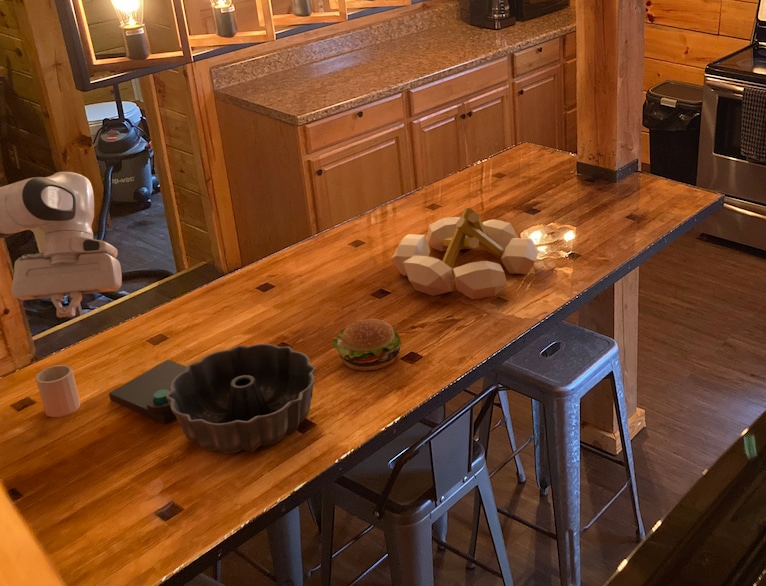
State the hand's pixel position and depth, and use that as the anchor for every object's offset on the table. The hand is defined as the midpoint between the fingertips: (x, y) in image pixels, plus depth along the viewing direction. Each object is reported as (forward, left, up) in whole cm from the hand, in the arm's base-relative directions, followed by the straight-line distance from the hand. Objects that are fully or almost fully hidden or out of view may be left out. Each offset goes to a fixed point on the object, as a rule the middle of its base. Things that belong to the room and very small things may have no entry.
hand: (65, 316), depth 191 cm
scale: (+21, +4, -14) cm, 26 cm away
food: (+47, +34, -14) cm, 60 cm away
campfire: (+41, +78, -14) cm, 89 cm away
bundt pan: (+43, +5, -14) cm, 46 cm away
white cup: (+7, -9, -14) cm, 18 cm away
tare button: (+26, 0, -11) cm, 29 cm away
